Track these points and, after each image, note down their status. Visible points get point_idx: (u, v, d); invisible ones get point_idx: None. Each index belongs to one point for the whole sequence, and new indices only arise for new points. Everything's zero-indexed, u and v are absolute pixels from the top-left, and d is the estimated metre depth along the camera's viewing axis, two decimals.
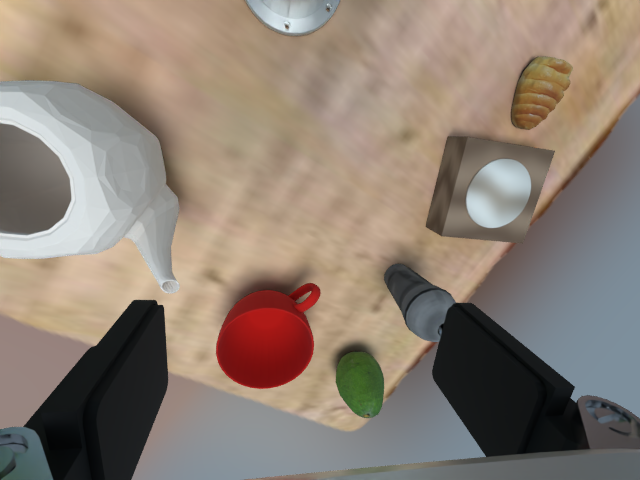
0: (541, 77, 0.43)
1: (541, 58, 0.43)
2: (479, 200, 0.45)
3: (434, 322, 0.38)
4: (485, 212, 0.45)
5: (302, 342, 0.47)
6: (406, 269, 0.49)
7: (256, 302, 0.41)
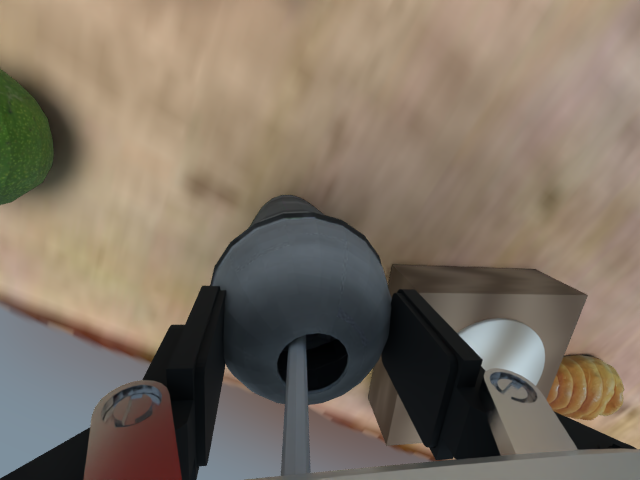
0: (604, 382, 0.31)
1: (616, 373, 0.32)
2: (482, 345, 0.23)
3: (341, 312, 0.09)
4: None
5: None
6: None
7: None
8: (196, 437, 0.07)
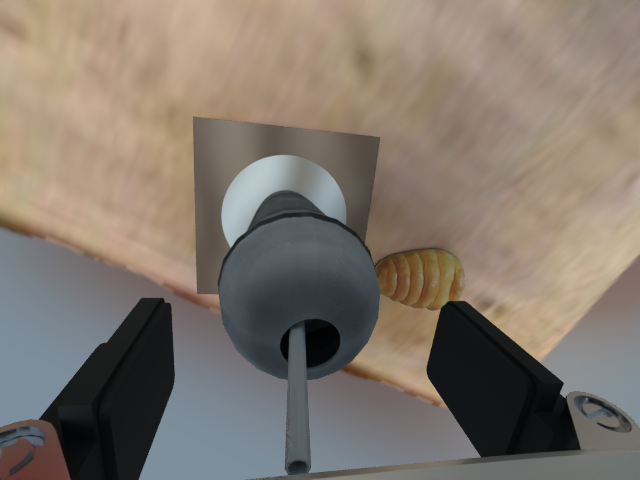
0: (442, 268, 0.32)
1: (459, 261, 0.33)
2: (272, 182, 0.24)
3: (335, 301, 0.11)
4: (251, 201, 0.24)
5: None
6: None
7: None
8: None
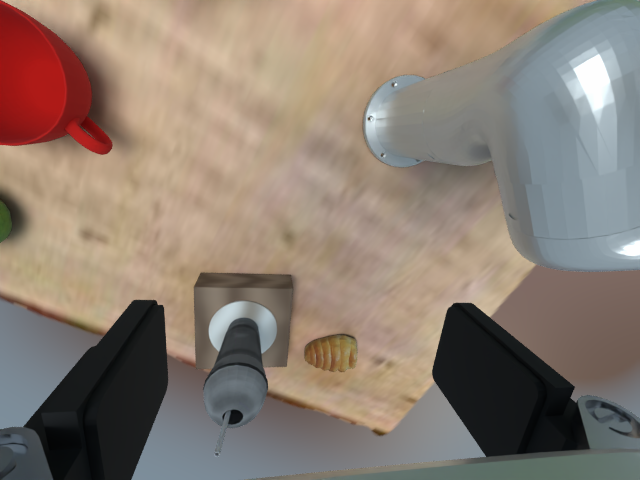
0: (342, 349, 0.54)
1: (354, 343, 0.55)
2: (235, 314, 0.46)
3: (240, 402, 0.32)
4: (224, 324, 0.46)
5: (13, 134, 0.34)
6: None
7: (71, 65, 0.31)
8: None
